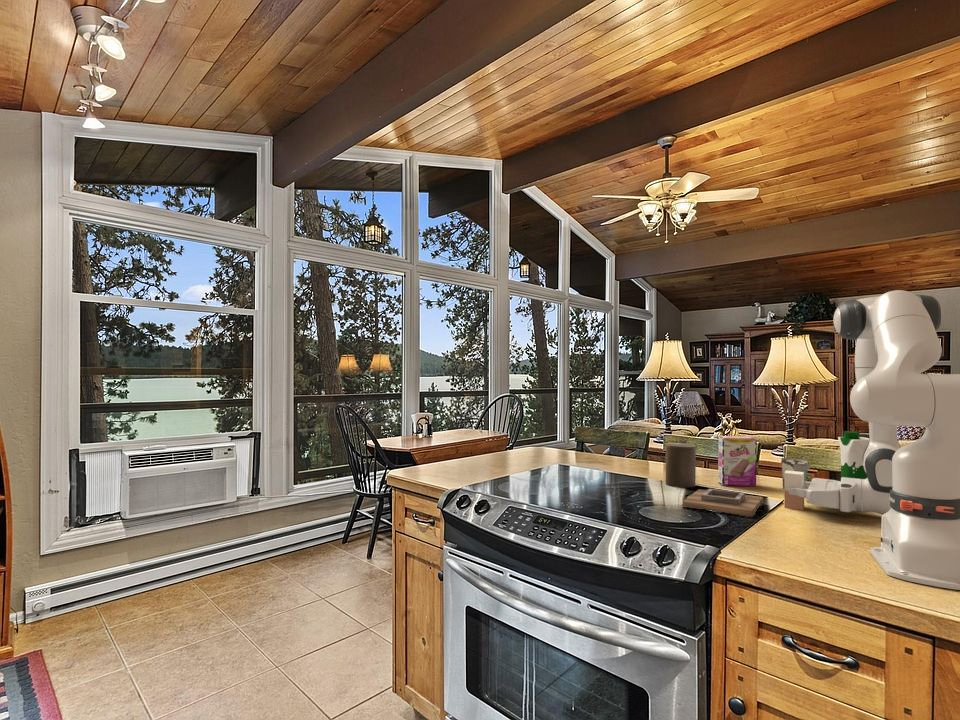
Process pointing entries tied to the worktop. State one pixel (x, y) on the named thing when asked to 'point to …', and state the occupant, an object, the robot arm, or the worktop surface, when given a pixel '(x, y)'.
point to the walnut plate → (724, 501)
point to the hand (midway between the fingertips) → (790, 487)
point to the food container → (794, 466)
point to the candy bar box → (736, 461)
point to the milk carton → (852, 455)
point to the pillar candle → (680, 464)
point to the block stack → (794, 481)
